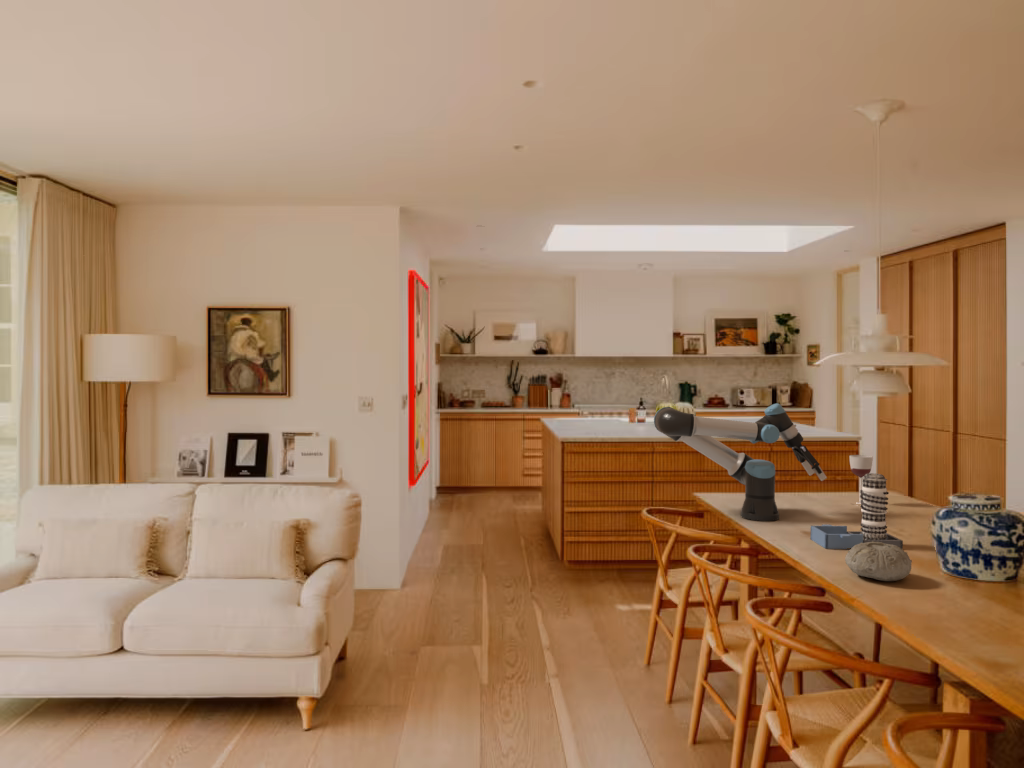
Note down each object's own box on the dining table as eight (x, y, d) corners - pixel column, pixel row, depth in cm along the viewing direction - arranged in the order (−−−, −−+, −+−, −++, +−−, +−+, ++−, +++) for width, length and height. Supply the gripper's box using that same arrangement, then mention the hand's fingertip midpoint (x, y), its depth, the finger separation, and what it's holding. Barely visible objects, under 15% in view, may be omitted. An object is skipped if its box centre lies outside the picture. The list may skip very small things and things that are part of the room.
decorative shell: (892, 590, 205) (893, 555, 205) (833, 575, 220) (833, 542, 219) (922, 579, 216) (923, 546, 215) (864, 565, 230) (864, 534, 230)
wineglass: (849, 501, 336) (849, 454, 336) (872, 503, 332) (872, 455, 332) (848, 504, 329) (849, 456, 328) (872, 506, 324) (872, 457, 324)
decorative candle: (876, 540, 263) (877, 472, 262) (893, 546, 253) (895, 476, 253) (853, 541, 261) (854, 472, 260) (870, 548, 252) (871, 476, 251)
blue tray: (827, 550, 249) (828, 535, 249) (808, 537, 267) (808, 524, 266) (865, 550, 249) (865, 536, 248) (843, 538, 266) (843, 524, 266)
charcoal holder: (862, 549, 251) (863, 540, 250) (845, 539, 264) (845, 531, 264) (902, 549, 250) (902, 540, 250) (883, 539, 264) (883, 531, 264)
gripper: (808, 434, 301) (836, 476, 301) (788, 428, 326) (814, 467, 326) (793, 444, 301) (821, 486, 301) (774, 437, 326) (800, 476, 326)
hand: (818, 476), depth 314 cm, fingers open, 13 cm apart
